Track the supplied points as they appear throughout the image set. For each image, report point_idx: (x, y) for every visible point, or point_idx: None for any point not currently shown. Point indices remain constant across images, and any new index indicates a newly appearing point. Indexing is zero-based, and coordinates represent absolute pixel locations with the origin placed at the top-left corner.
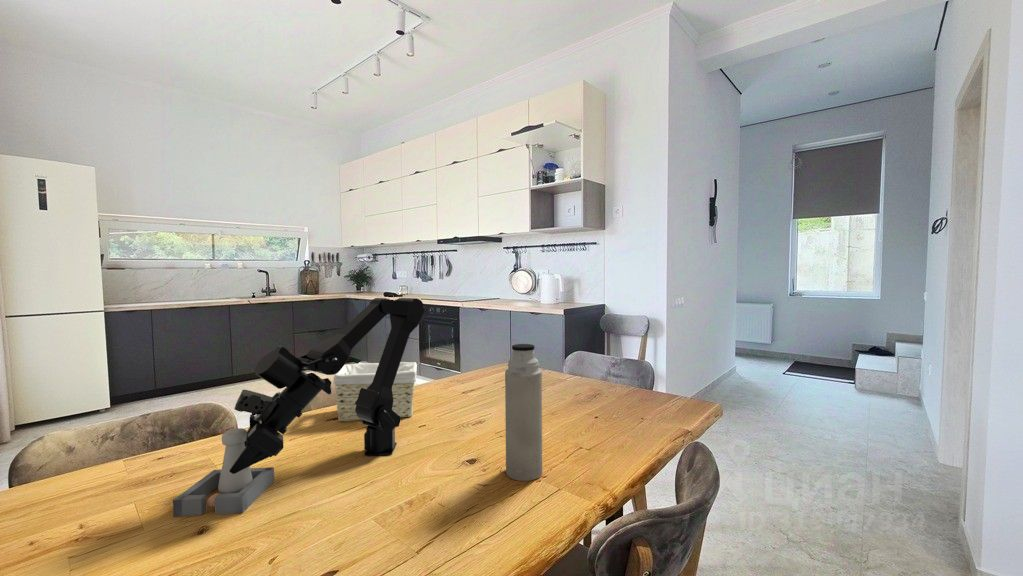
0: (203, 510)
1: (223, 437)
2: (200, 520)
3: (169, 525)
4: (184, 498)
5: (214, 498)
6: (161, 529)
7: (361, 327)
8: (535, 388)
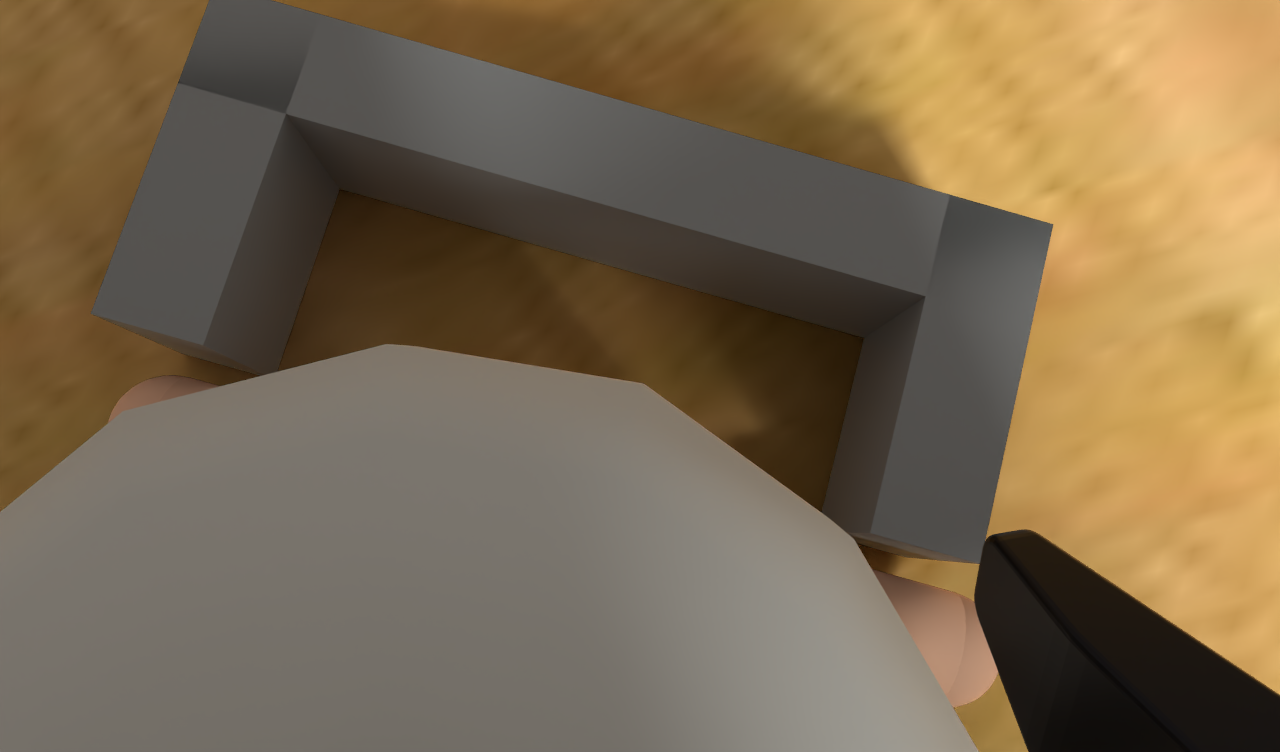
0: (208, 359)
1: (37, 491)
2: (60, 379)
3: (93, 105)
4: (204, 106)
5: None
6: (39, 57)
7: None
8: None
